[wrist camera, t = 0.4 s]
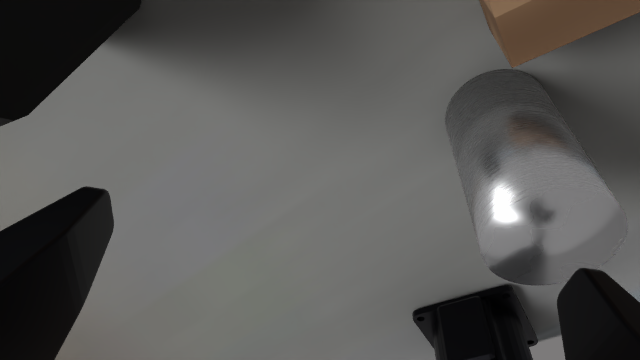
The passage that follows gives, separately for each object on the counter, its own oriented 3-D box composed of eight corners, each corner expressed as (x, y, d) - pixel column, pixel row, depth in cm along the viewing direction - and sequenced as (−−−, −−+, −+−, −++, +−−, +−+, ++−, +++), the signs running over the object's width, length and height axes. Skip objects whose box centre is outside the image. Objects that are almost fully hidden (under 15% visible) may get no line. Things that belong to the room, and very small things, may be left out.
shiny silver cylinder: (558, 131, 22) (637, 262, 16) (464, 167, 24) (503, 298, 17) (532, 51, 20) (614, 167, 14) (430, 96, 21) (461, 219, 15)
